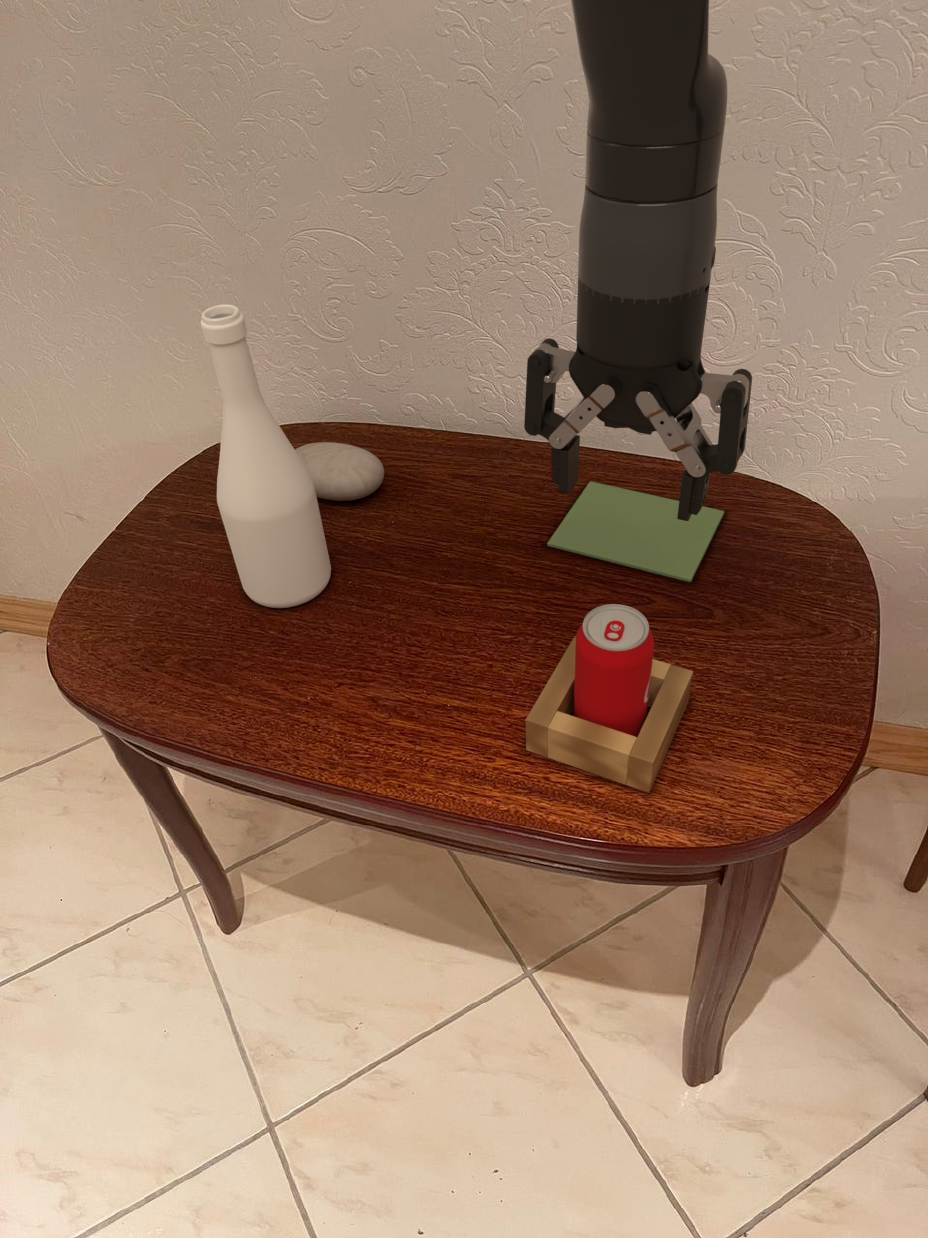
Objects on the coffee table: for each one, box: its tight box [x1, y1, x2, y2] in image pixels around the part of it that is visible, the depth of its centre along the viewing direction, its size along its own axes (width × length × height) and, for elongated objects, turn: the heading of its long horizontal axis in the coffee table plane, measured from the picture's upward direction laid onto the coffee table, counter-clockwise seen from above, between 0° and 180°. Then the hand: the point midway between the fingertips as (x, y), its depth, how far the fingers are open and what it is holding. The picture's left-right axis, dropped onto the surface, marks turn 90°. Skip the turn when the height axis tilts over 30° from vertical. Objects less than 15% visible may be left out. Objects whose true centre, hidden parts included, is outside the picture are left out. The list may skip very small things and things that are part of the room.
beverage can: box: [573, 603, 655, 737], centre depth 74 cm, size 6×6×12 cm
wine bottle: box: [200, 304, 332, 609], centre depth 85 cm, size 10×10×30 cm
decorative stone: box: [294, 441, 385, 502], centre depth 106 cm, size 13×9×5 cm
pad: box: [546, 480, 725, 583], centre depth 98 cm, size 16×13×1 cm
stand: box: [525, 635, 694, 794], centre depth 76 cm, size 11×11×4 cm
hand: (626, 500), depth 62 cm, fingers open, 8 cm apart
